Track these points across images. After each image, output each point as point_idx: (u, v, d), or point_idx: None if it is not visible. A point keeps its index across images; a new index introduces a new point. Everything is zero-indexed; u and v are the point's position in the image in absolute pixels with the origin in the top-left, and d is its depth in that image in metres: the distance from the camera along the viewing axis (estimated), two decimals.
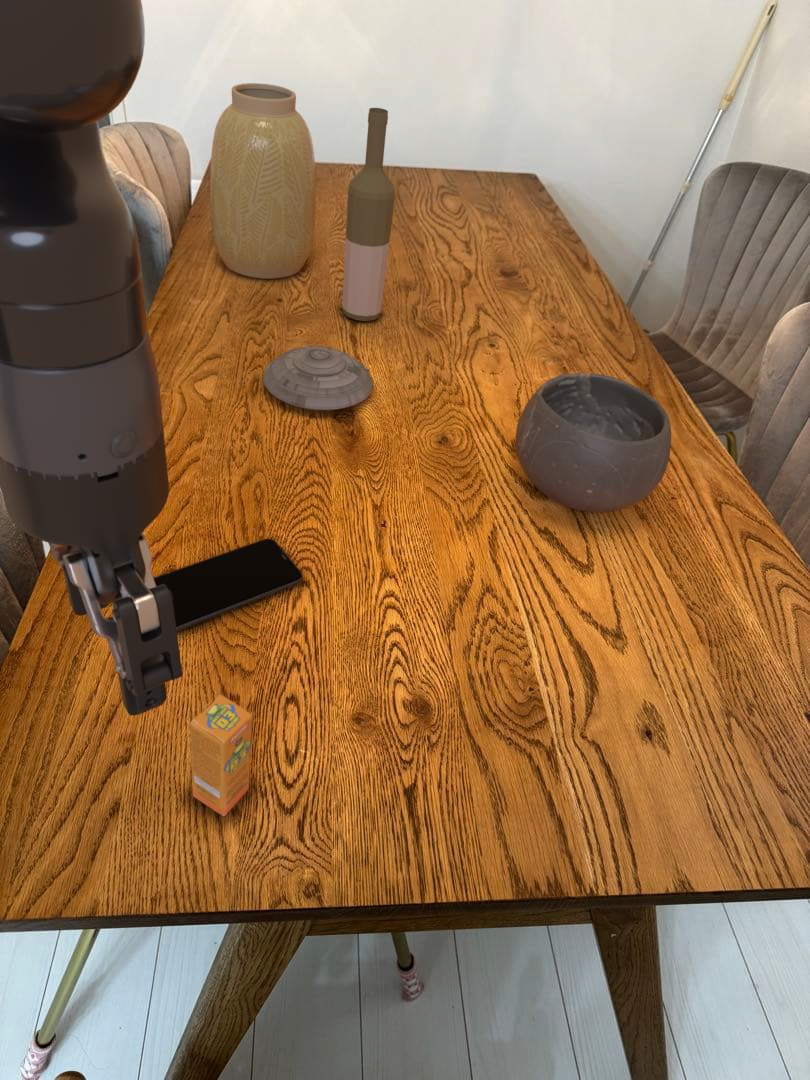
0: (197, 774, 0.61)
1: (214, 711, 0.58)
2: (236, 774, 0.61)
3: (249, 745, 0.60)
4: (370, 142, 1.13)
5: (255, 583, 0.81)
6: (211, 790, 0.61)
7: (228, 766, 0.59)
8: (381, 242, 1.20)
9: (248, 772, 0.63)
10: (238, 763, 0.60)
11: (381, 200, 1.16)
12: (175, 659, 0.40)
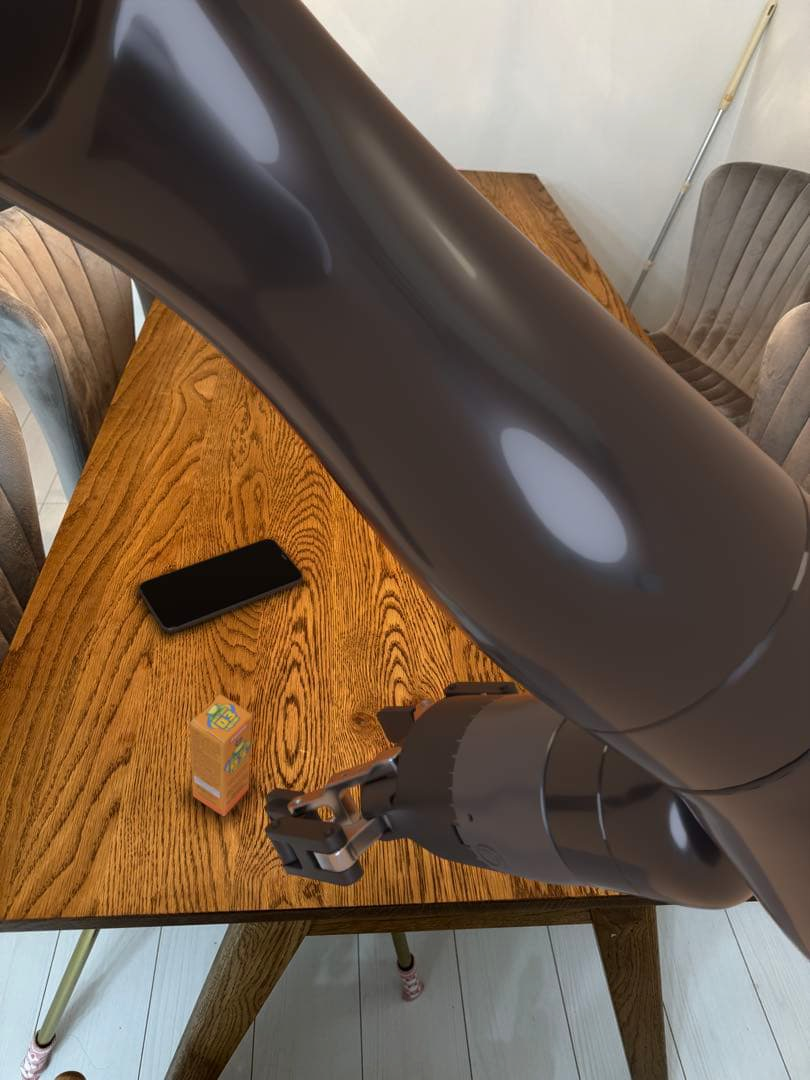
0: (197, 774, 0.61)
1: (214, 711, 0.58)
2: (236, 774, 0.61)
3: (249, 745, 0.60)
4: None
5: (255, 583, 0.81)
6: (211, 790, 0.61)
7: (228, 766, 0.59)
8: None
9: (248, 772, 0.63)
10: (238, 763, 0.60)
11: None
12: (297, 871, 0.39)
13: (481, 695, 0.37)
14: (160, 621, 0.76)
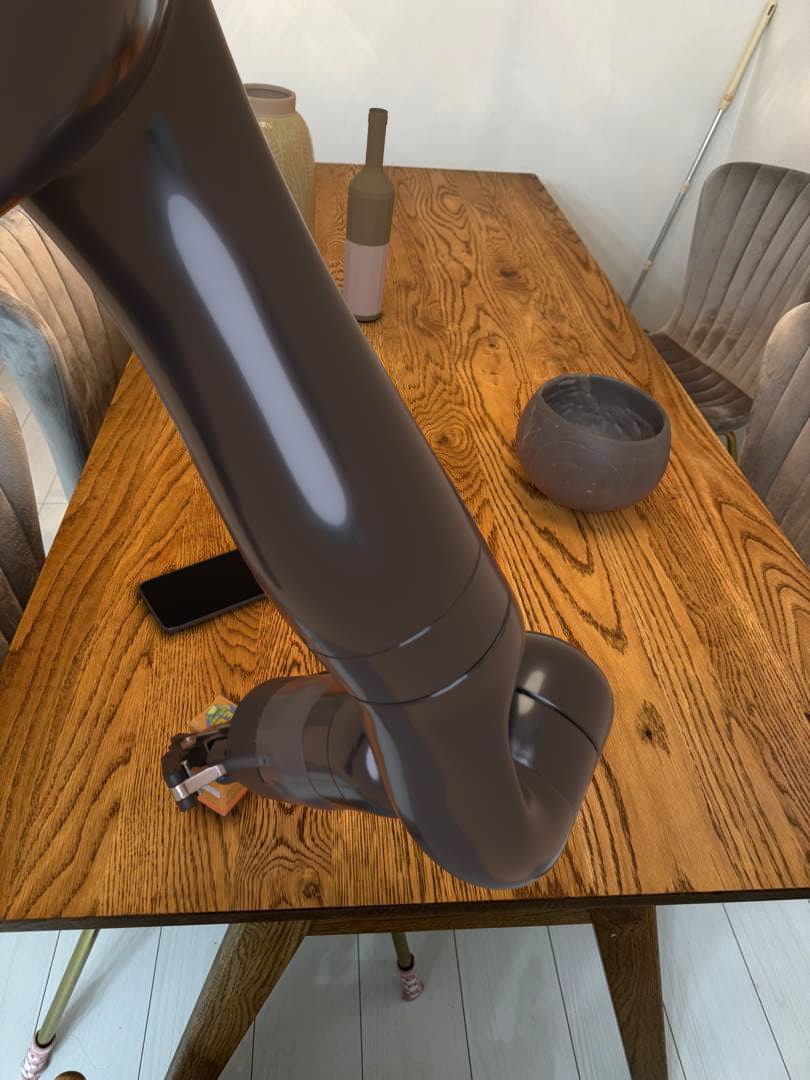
0: None
1: (213, 711, 0.58)
2: None
3: None
4: (370, 142, 1.13)
5: (255, 583, 0.81)
6: (211, 790, 0.61)
7: None
8: (381, 242, 1.20)
9: None
10: None
11: (381, 200, 1.16)
12: None
13: (294, 676, 0.50)
14: (160, 621, 0.76)
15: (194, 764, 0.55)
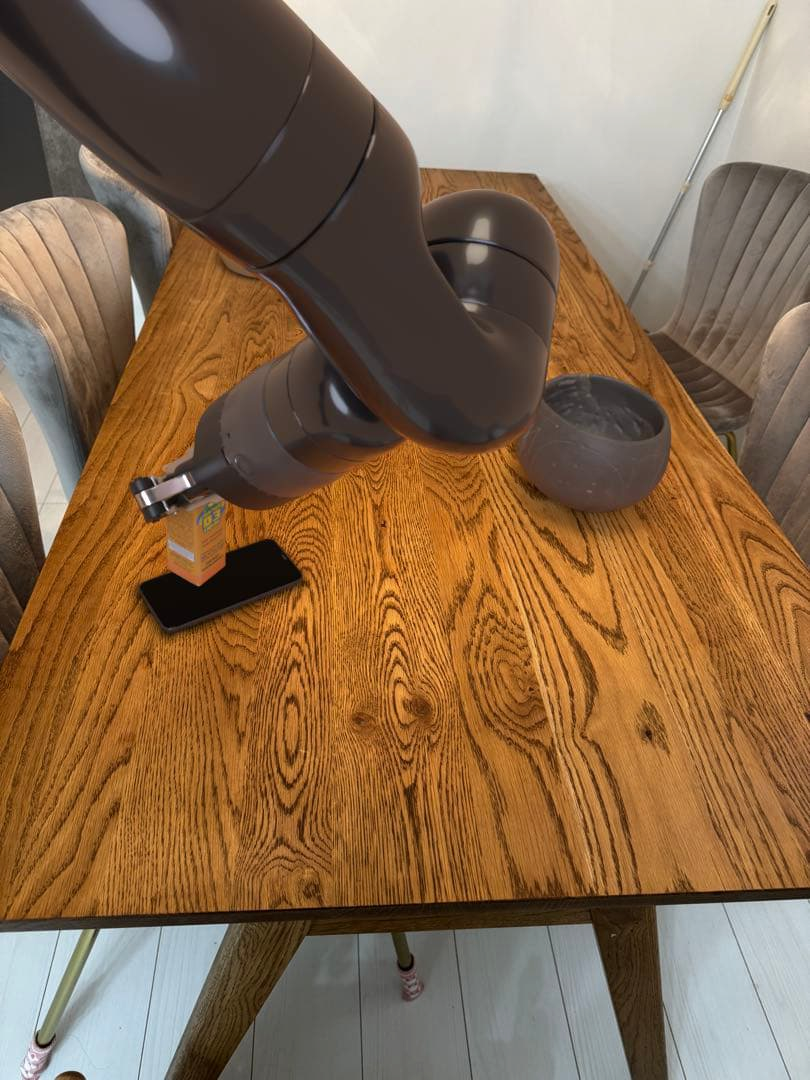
0: (171, 536, 0.60)
1: None
2: (211, 537, 0.60)
3: (223, 505, 0.59)
4: None
5: (255, 583, 0.81)
6: (185, 553, 0.60)
7: (201, 520, 0.58)
8: None
9: (224, 542, 0.62)
10: (212, 523, 0.59)
11: None
12: (145, 519, 0.53)
13: None
14: (160, 621, 0.76)
15: None
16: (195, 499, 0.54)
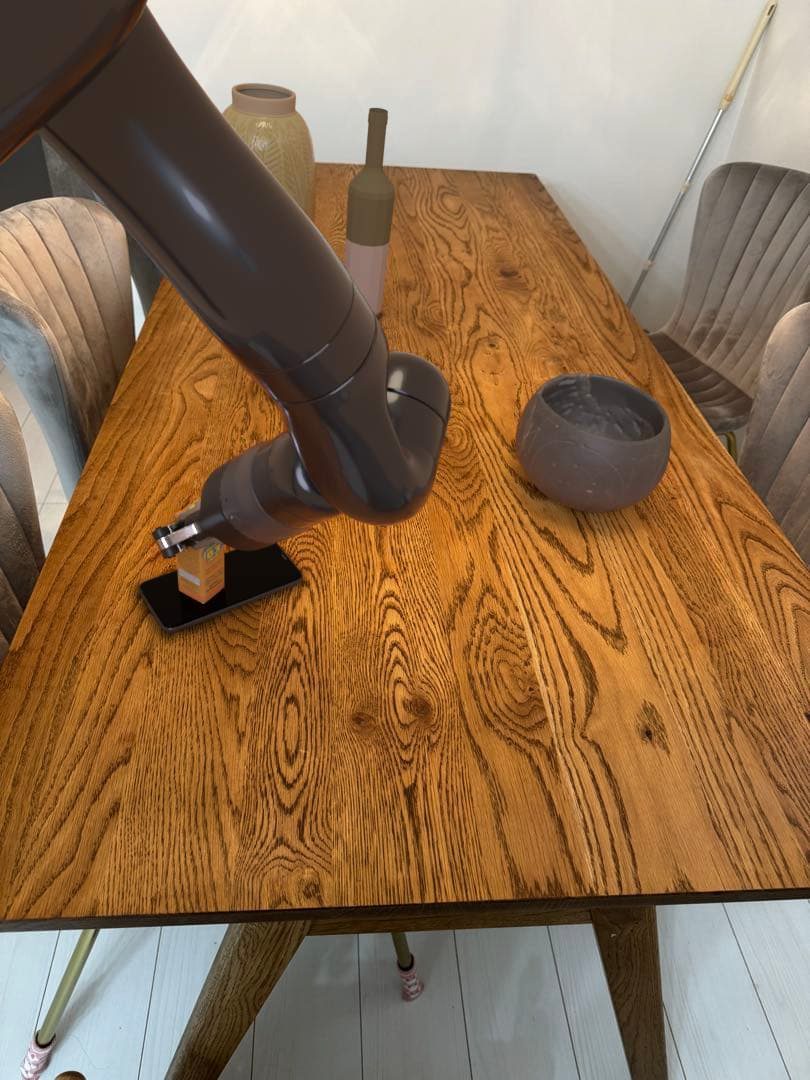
0: (181, 565, 0.76)
1: None
2: (212, 566, 0.76)
3: None
4: (370, 142, 1.13)
5: (255, 583, 0.81)
6: (193, 579, 0.76)
7: (205, 554, 0.74)
8: (381, 242, 1.20)
9: (223, 569, 0.78)
10: (214, 555, 0.76)
11: (381, 200, 1.16)
12: None
13: None
14: (160, 621, 0.76)
15: None
16: None
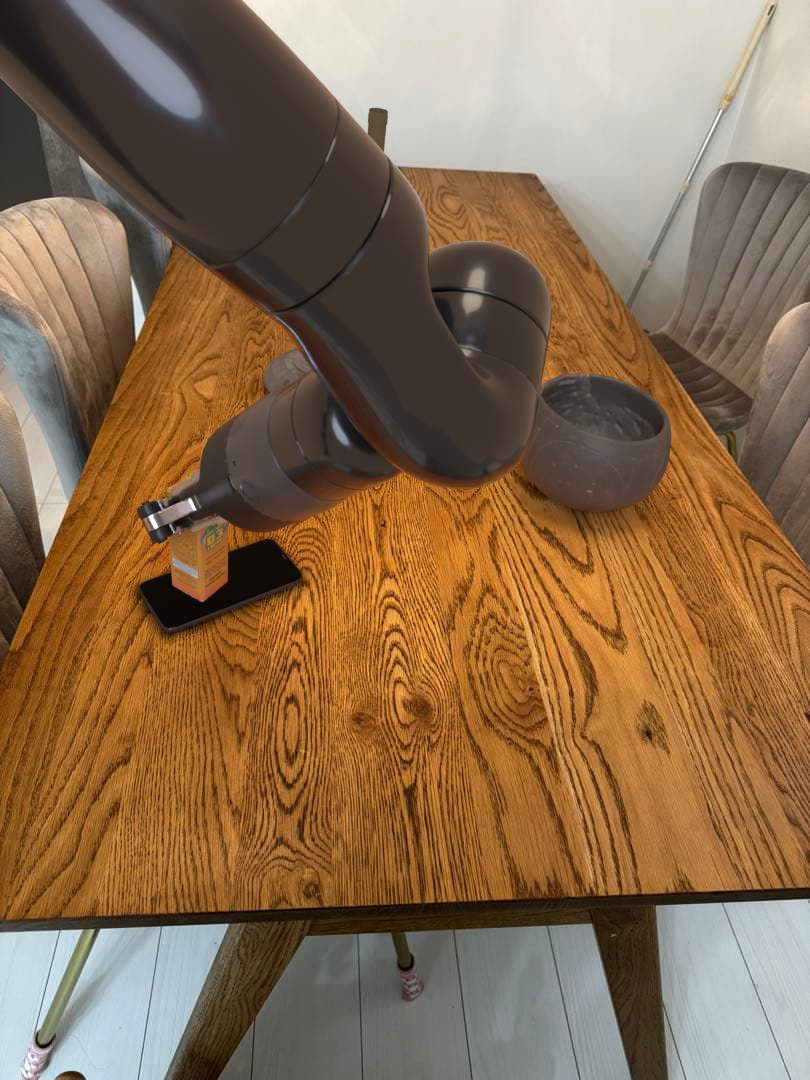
0: (176, 554, 0.62)
1: None
2: (214, 554, 0.62)
3: (226, 524, 0.61)
4: None
5: (255, 583, 0.81)
6: (189, 570, 0.62)
7: (205, 539, 0.60)
8: None
9: (226, 559, 0.64)
10: (215, 541, 0.61)
11: None
12: (151, 540, 0.54)
13: None
14: (160, 621, 0.76)
15: None
16: (199, 520, 0.55)
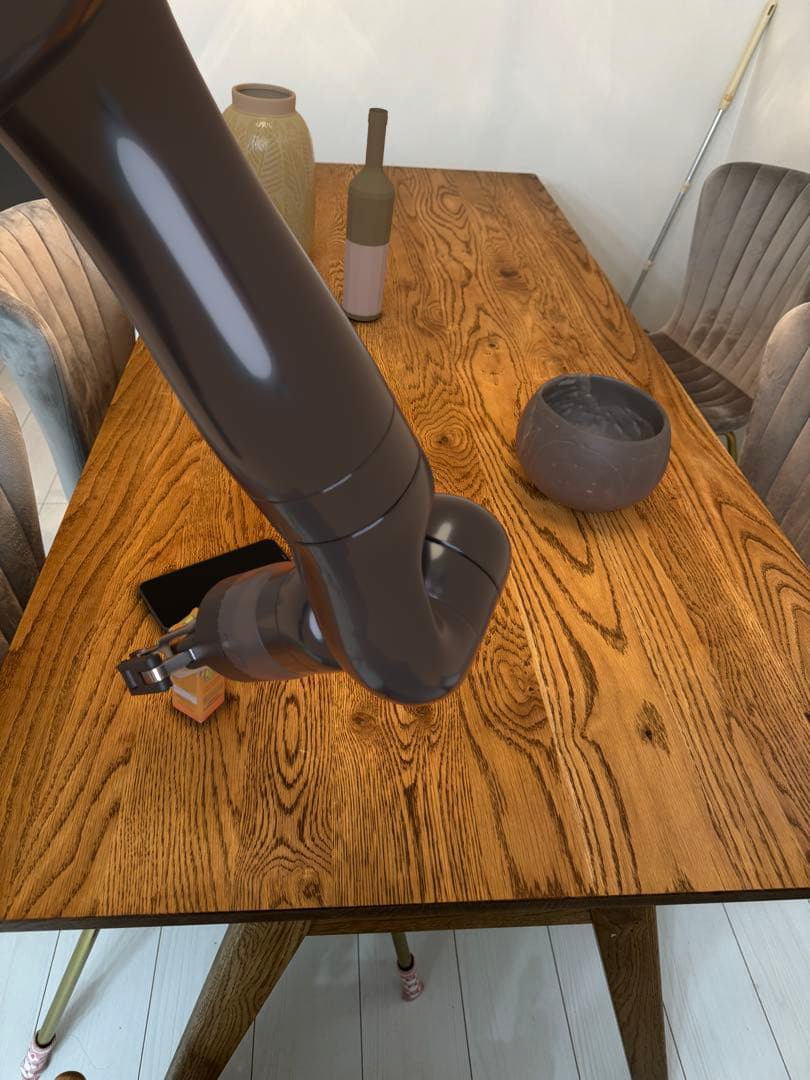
0: (176, 682, 0.67)
1: None
2: (211, 682, 0.67)
3: None
4: (370, 142, 1.13)
5: None
6: (189, 697, 0.67)
7: (204, 672, 0.65)
8: (381, 242, 1.20)
9: (223, 683, 0.69)
10: (213, 671, 0.66)
11: (381, 200, 1.16)
12: (136, 692, 0.57)
13: None
14: (160, 621, 0.76)
15: None
16: (186, 666, 0.59)
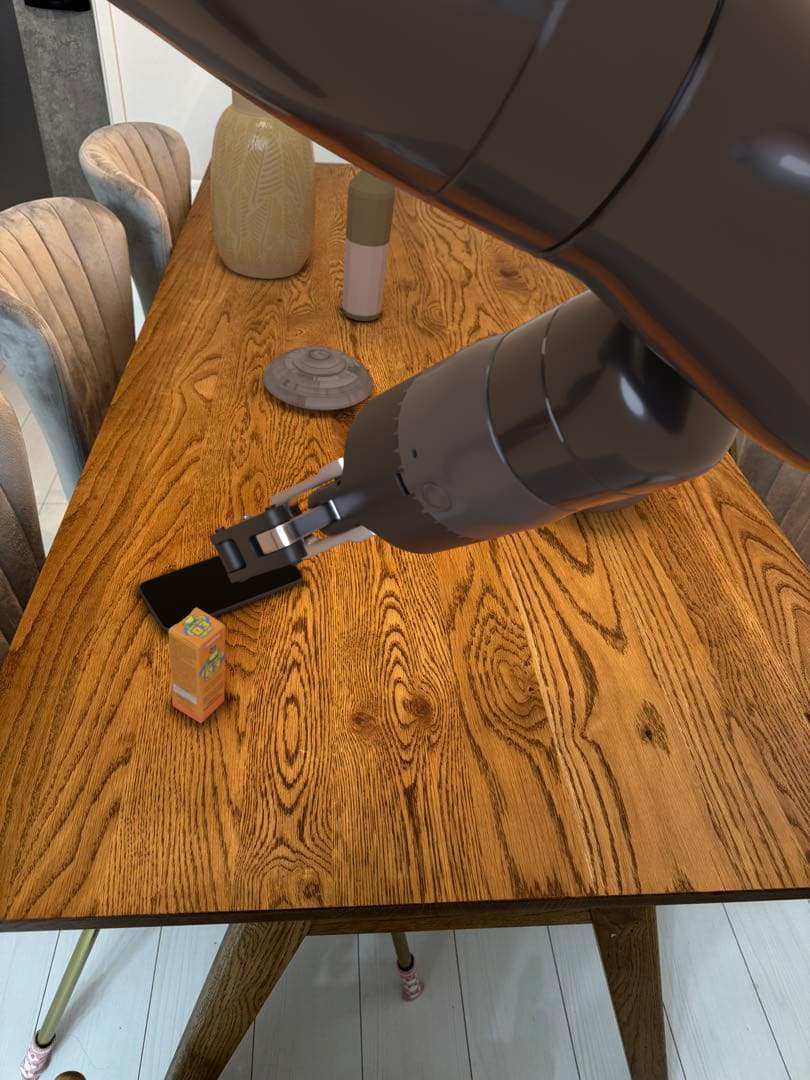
0: (176, 682, 0.67)
1: (190, 621, 0.64)
2: (211, 682, 0.67)
3: (223, 655, 0.67)
4: None
5: (255, 583, 0.81)
6: (189, 697, 0.67)
7: (204, 672, 0.65)
8: (381, 242, 1.20)
9: (223, 683, 0.69)
10: (213, 671, 0.66)
11: (381, 200, 1.16)
12: (241, 574, 0.37)
13: None
14: (160, 621, 0.76)
15: None
16: (313, 541, 0.39)
